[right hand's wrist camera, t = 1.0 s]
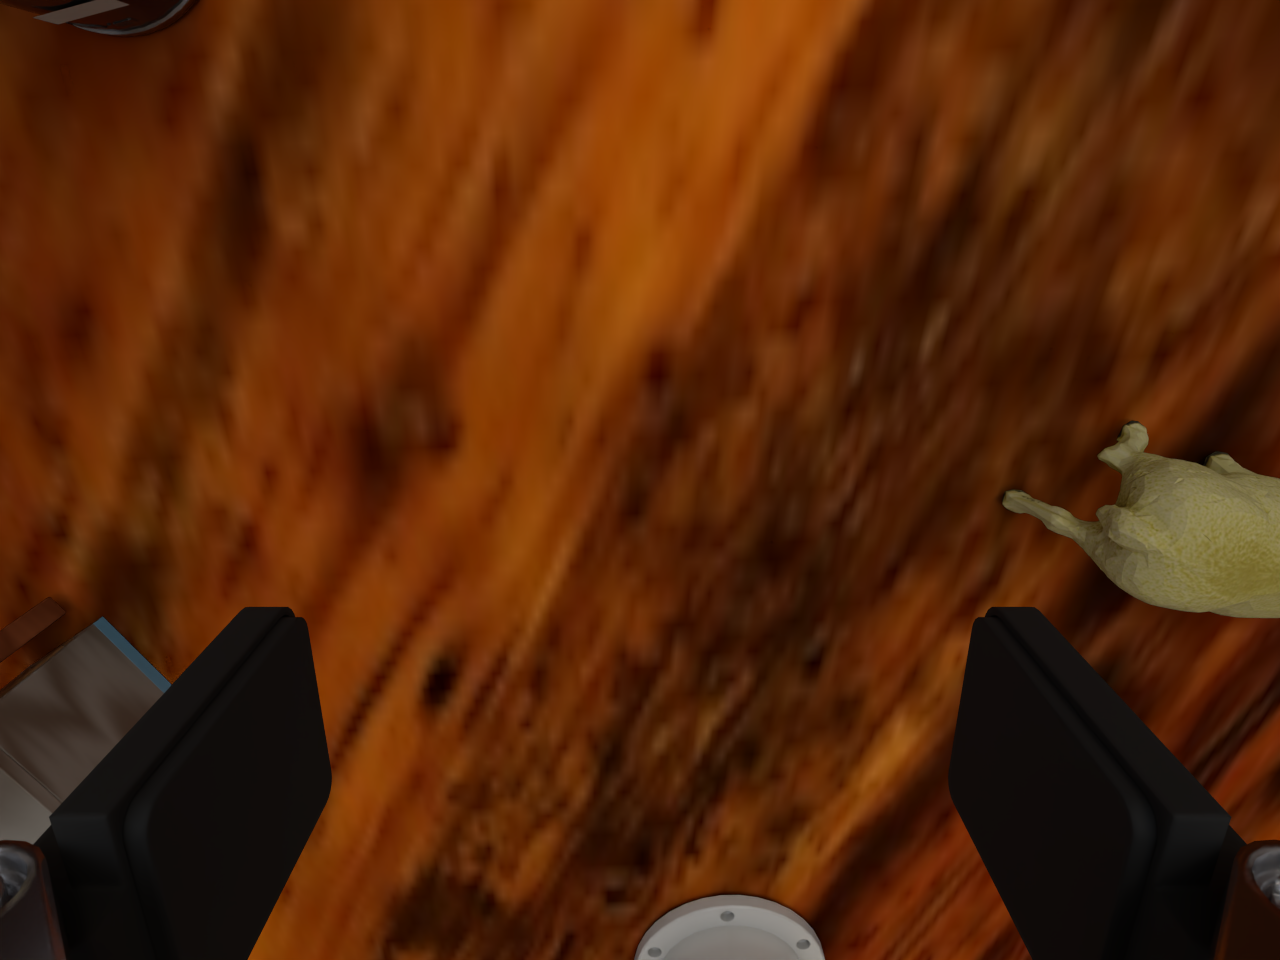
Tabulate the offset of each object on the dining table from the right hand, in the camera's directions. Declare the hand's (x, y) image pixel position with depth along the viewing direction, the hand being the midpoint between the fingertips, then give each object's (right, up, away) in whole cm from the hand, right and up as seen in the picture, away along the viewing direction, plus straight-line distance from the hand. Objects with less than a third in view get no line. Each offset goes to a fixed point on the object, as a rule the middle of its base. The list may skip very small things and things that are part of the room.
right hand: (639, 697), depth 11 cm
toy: (+28, +2, +31) cm, 41 cm away
